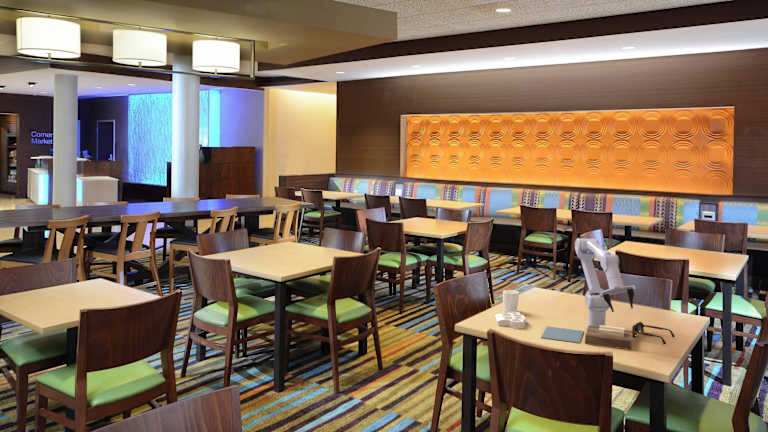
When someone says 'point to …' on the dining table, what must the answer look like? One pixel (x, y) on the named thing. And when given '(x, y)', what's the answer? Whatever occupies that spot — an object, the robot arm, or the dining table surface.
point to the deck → (607, 338)
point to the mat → (562, 334)
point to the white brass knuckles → (511, 319)
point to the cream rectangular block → (611, 331)
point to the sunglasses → (640, 327)
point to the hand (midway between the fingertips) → (622, 309)
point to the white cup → (510, 300)
